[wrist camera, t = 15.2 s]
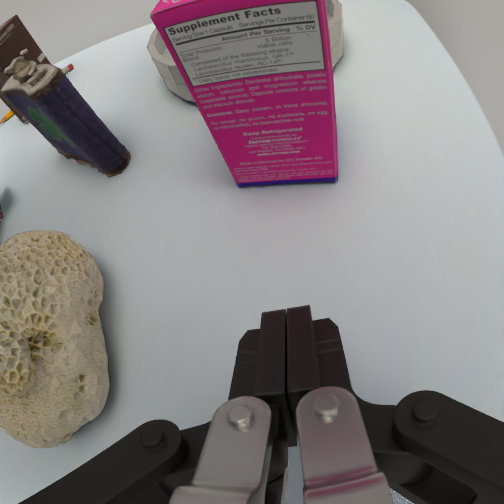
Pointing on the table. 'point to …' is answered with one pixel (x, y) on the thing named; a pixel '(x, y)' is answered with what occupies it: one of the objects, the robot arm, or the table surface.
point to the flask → (63, 115)
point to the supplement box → (259, 83)
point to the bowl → (178, 84)
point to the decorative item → (50, 338)
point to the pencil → (11, 110)
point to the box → (16, 53)
